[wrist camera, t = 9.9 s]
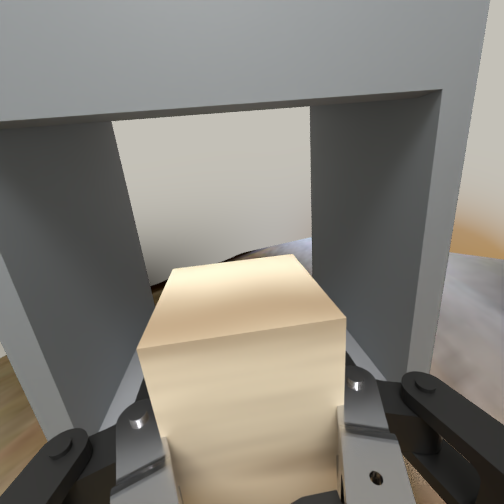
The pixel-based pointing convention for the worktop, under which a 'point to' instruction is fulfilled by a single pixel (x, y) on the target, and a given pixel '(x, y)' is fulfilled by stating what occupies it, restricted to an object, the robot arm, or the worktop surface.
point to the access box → (220, 101)
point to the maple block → (247, 380)
